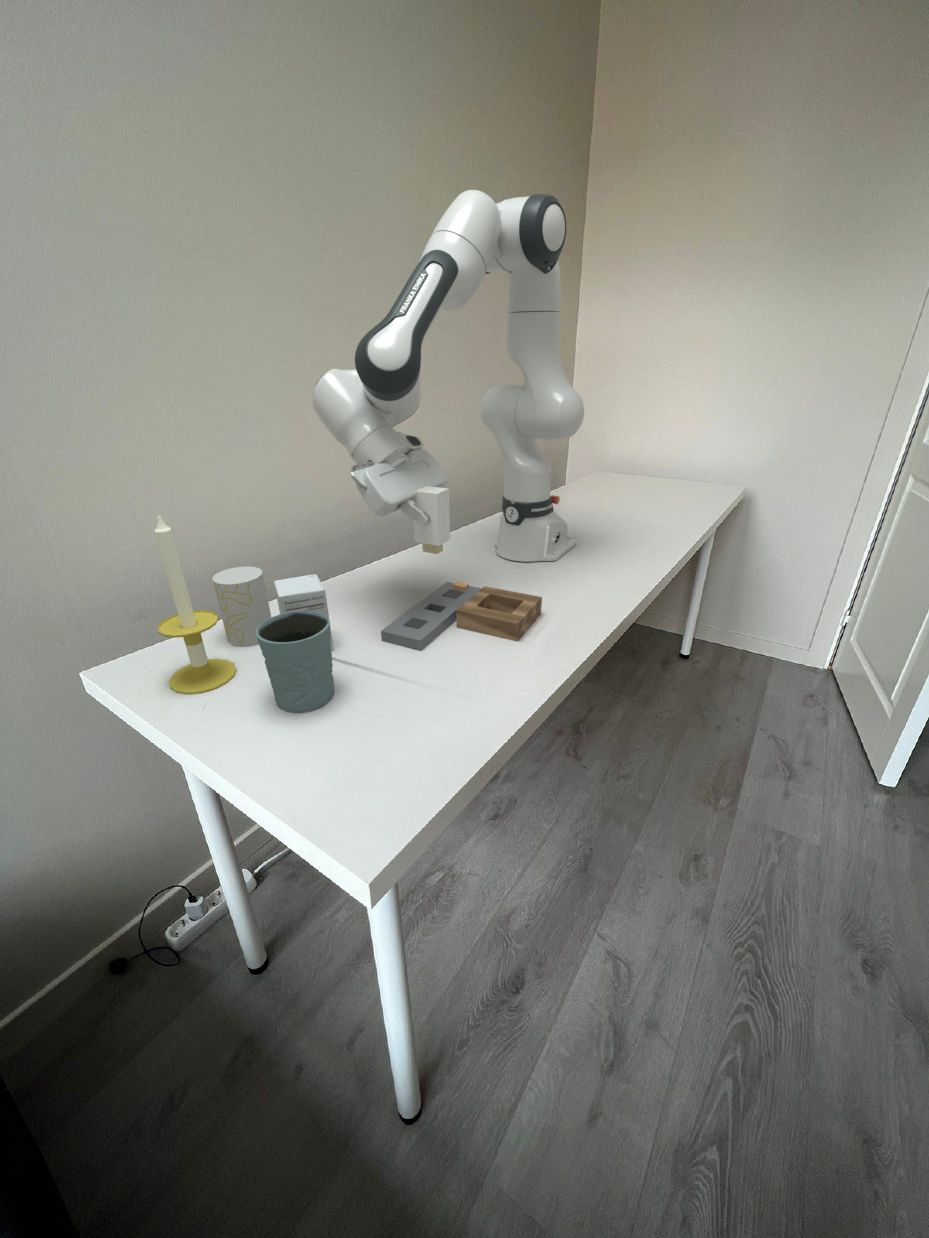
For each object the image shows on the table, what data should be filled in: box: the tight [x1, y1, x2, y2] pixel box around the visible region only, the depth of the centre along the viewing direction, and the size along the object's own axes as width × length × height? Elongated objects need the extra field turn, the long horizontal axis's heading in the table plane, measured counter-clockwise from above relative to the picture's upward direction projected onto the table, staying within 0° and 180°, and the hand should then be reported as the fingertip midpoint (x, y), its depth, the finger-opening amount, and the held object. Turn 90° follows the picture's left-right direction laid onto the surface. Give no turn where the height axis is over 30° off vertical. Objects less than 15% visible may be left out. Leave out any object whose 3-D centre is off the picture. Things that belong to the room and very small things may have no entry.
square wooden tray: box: [455, 585, 543, 643], centre depth 99 cm, size 12×12×4 cm
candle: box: [154, 512, 237, 695], centre depth 80 cm, size 10×10×27 cm
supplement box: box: [273, 573, 335, 652], centre depth 90 cm, size 7×7×13 cm
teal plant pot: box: [256, 611, 335, 714], centre depth 78 cm, size 10×10×12 cm
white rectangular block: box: [412, 486, 451, 555], centre depth 93 cm, size 4×5×11 cm
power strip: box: [380, 581, 483, 652], centre depth 101 cm, size 24×8×4 cm, turn 153°
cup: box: [211, 566, 272, 648], centre depth 95 cm, size 8×8×12 cm
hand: (434, 519), depth 92 cm, fingers closed on white rectangular block, 4 cm apart
